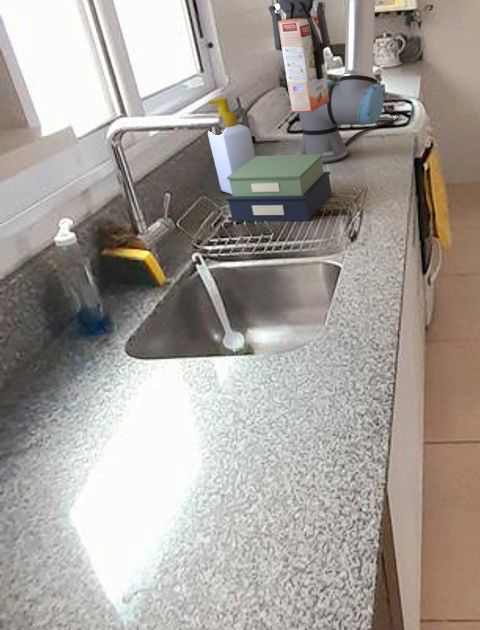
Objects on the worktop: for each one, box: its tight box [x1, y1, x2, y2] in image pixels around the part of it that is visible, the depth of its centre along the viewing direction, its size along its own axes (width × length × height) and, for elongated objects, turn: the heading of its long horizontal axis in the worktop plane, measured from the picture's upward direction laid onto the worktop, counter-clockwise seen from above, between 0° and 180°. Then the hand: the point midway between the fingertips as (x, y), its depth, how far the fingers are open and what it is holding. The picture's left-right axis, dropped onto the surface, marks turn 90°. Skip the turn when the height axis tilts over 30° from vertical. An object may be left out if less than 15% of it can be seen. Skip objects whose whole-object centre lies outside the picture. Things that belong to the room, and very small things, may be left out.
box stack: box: [225, 154, 333, 222], centre depth 155 cm, size 21×21×11 cm
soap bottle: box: [207, 97, 256, 195], centre depth 166 cm, size 9×9×25 cm
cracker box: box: [278, 15, 329, 113], centre depth 151 cm, size 14×6×21 cm, turn 169°
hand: (307, 79), depth 153 cm, fingers closed on cracker box, 6 cm apart
